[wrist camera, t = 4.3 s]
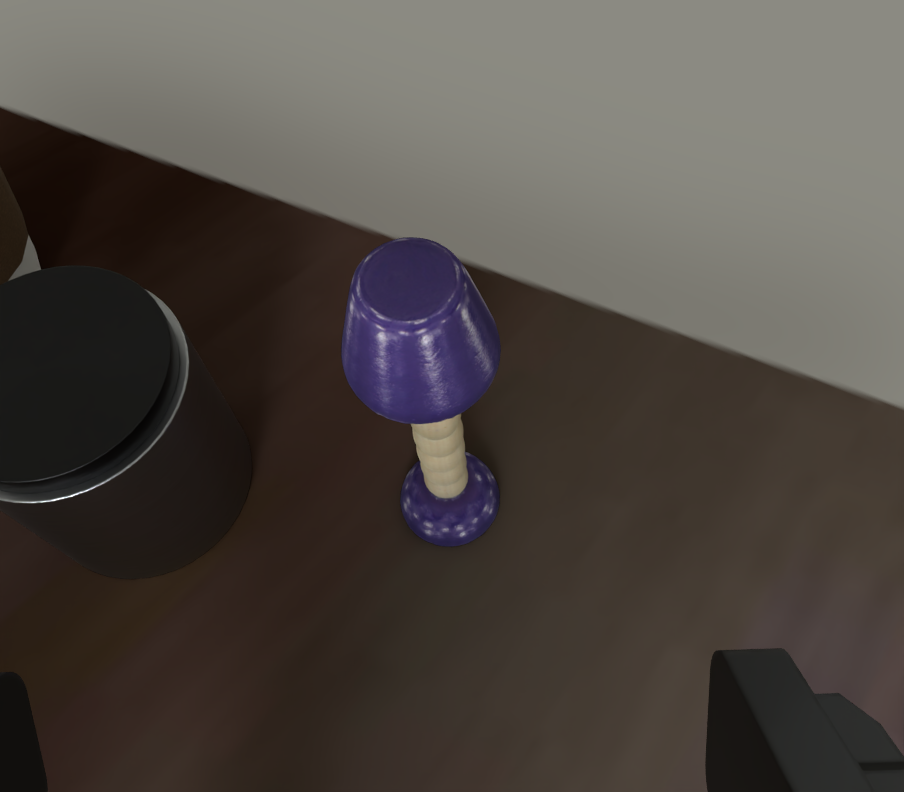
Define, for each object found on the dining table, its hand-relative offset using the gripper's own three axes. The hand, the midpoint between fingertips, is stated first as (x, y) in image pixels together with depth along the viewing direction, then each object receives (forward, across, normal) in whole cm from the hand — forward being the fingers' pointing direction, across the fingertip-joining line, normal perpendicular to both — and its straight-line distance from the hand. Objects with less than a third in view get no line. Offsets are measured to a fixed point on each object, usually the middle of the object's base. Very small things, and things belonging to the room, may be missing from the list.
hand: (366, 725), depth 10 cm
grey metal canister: (+26, +13, +7) cm, 30 cm away
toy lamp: (+25, 0, +9) cm, 27 cm away
